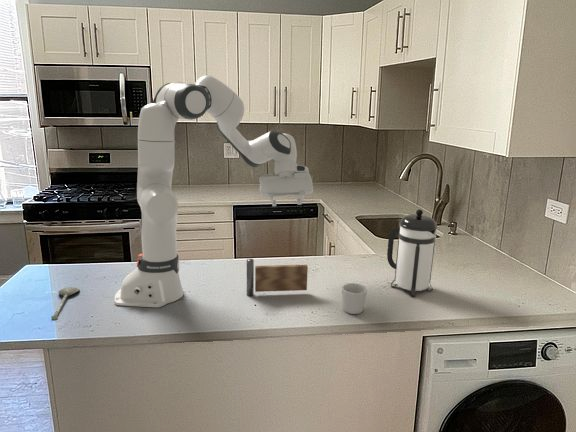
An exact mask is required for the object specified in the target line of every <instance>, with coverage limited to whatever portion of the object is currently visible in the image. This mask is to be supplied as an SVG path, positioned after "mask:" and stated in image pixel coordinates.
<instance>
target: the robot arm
mask: <svg viewBox="0 0 576 432" xmlns="http://www.w3.org/2000/svg"><path fill="white" fill-rule="evenodd" d="M205 113H208V114H209V115H210V116H211V117H212V118H213V119H215V121H216V129H217V130H218V132H219V133H220V135H221V136H222V137H223V138H224V139H225V140H226V141H227V143H229V144H230V145H231V146H232V148H233V149H234V150H235V151H236V152H237V153H238V154H239V155H240V157H241V159H242V160H243V162H244V163H245V164H247V166H249V167H253V168H258V167H261V166H262V165H263V164H265V163H267V162H269V161H271V160H274V173H263V174H262V175H260V177H259V180H258V182H259V194H260V196H261V197H262V198H268V199H269V200H270V202H271V205H272V206H271V207H277V200H276V199H274V197H288V196H289V197H290V196H300V197H299V198H296V200H297V202H296V203H297V206H298V205H299V206H301V205H303V204H302V203H303V202H302V201H303V200H304V198H305V195H313V193H314V184H313V183H314V182H313V179H312V176H311V174H310V169H309V167H308V166H305V165H301V164H298V163H297V158H298V152H297V144H296V140H295V138H294V136H292V135H291V134H289V133H281V132H280V131H278V130H275V129H274V130H269V131H268V132H266V133H264V134H262V135H260V136H258V137H256V138H254V139H253V140H247V139H246V138H245V137H244V136H243V135H242V133H241V132H240V131H239V130H238V129H237V127H239V125H240V123H241V121H242V120H243V117H244V113H245V105H244V102H243V100H242V99H241V97H240V96H239V95H238V94H237V93H236V92H234V91H233V90H232V89H231V88H230V87H229V86H228V85H226V84H225V83H224V82H222V81H220V80H219V79H218V78H216V77H214V76H212V75H208V74H207V75H203V76H202V75H201V76H200V77H199V78H198V79H197V80H195V83H184V82H167V83H165V84H163V85H161V86H160V87H159V88H158V89H157V91H156V92H155V95H154V98H153V99H152V101H151V103H148V104H146V105H144V106H142V107H141V109H140V113H139V116H138V125H137V126H138V127H137V179H136V180H137V182H136V201H137V203H138V205H139V207H140V212H141V250H142V253H139V254H138V255H137V260H136V268H135V269H134V270H132V271H131V272H130V273H128V274H127V275H126V276H125V277H124V279H123V280H122V282H121V286H120V289H119V290H117V291H116V293H115V295H114V301H113V303H114V304H115V305H116V306H122V307H123V306H125V307H142V308H143V307H144V308H161V307H163V306H165V305H167V304H170V303H173V302H175V301H177V300H179V299H181V298H182V297H183V296H184V294H185V292H184V289H183V286H182V283H181V279H180V273H179V272H180V258H179V254H178V245H177V244H178V243H177V227H178V215H179V214H178V212H179V211H178V209H179V204H178V203H179V202H178V197H177V196H176V194H175V193H174V192H173V189H172V184H173V173H174V169H175V160H176V159H175V150H176V149H175V146H176V145H175V143H176V142H175V127H176V124H177V122H178V121H179V119H180V120H196V119H199V118H201V117H203V115H205Z"/></svg>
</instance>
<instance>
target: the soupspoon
mask: <svg viewBox="0 0 576 432" xmlns="http://www.w3.org/2000/svg"><path fill="white" fill-rule="evenodd" d="M77 292H80V288H78V287H74V286H68V287H63V288H62V289H60V290H58V294H59V295H61V296H63V297H62V299H61V301H60V303H59V305H58V307H57V309H56V311H55V312H54V314H53V315H52V316H51V320H57V319H58V315H59V312H60V310H61V308H62V306H63V304H64V302H65V301H66V299H67V298H68V297H69V296H71V295H73V294H75V293H77Z"/></svg>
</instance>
